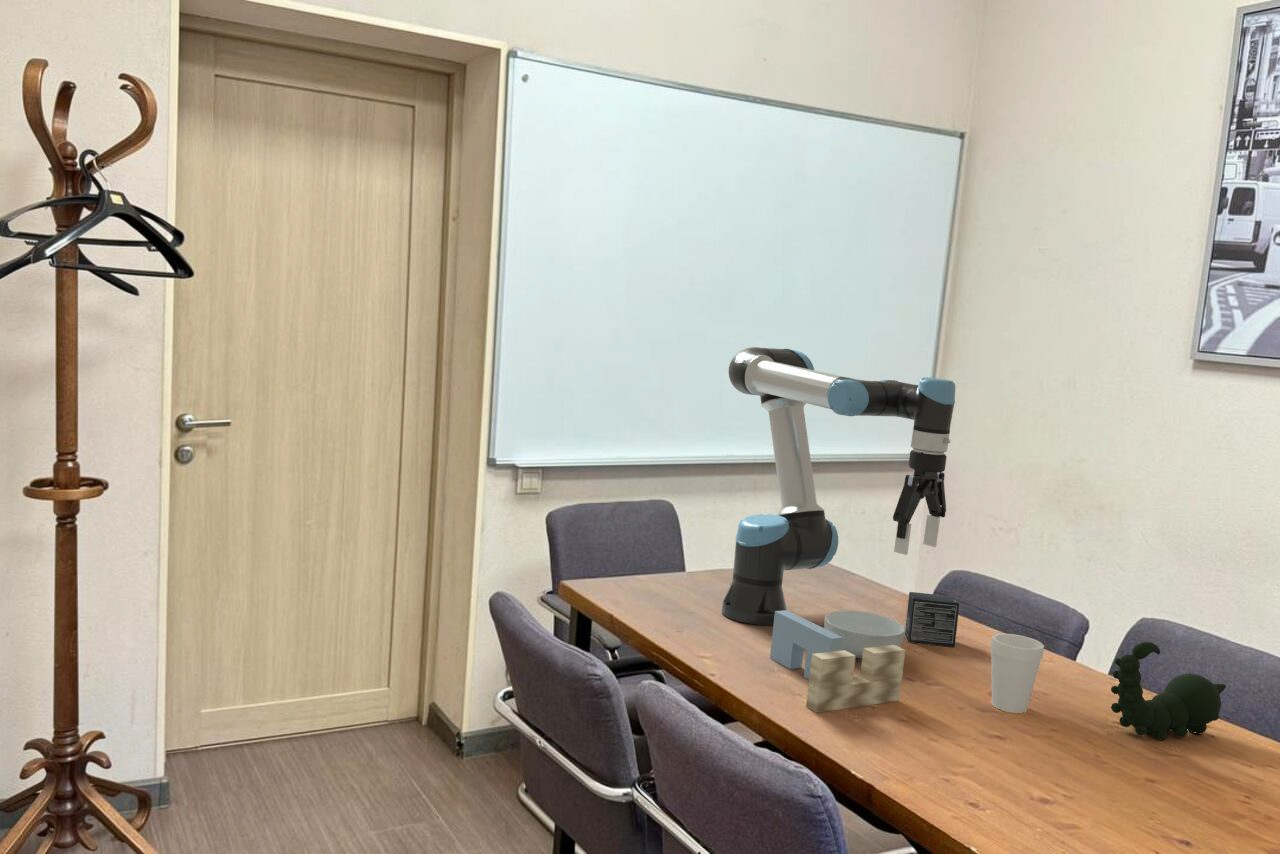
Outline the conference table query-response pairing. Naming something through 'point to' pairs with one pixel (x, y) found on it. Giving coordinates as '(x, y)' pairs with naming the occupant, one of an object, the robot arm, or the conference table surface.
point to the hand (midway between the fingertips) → (915, 549)
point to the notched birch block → (855, 678)
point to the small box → (932, 619)
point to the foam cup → (1014, 670)
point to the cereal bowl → (864, 630)
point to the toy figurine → (1164, 699)
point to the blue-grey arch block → (800, 641)
